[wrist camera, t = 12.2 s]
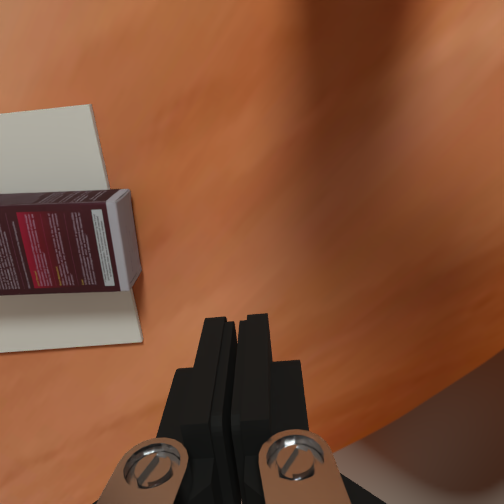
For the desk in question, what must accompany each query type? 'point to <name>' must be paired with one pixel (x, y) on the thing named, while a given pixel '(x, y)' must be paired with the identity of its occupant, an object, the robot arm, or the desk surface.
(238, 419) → the robot arm
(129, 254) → the supplement box
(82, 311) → the mat
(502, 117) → the desk surface
